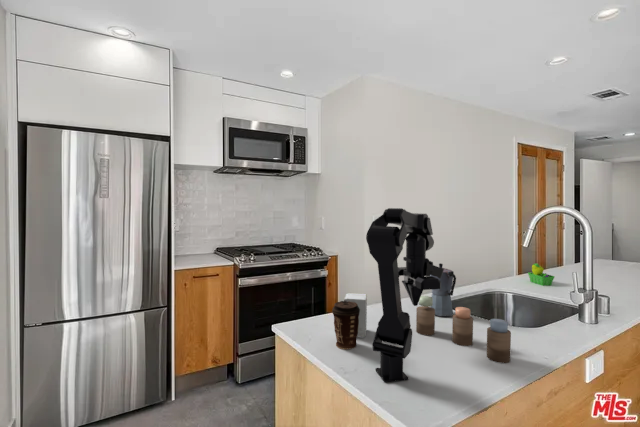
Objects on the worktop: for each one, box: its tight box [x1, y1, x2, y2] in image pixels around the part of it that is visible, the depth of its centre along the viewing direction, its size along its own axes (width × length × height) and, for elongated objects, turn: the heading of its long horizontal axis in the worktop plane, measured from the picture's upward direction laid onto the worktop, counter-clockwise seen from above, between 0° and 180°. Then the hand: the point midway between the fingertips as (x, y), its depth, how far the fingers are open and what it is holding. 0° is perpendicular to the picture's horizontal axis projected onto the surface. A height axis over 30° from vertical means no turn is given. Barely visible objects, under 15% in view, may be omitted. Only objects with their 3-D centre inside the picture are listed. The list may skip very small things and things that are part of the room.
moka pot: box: [430, 263, 457, 317], centre depth 135 cm, size 10×15×20 cm, turn 21°
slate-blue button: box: [489, 318, 509, 333], centre depth 97 cm, size 4×4×2 cm
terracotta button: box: [454, 306, 471, 319], centre depth 108 cm, size 4×4×2 cm
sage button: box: [418, 295, 433, 307], centre depth 116 cm, size 4×4×2 cm
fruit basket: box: [527, 262, 555, 286], centre depth 186 cm, size 11×9×11 cm
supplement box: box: [343, 292, 368, 338], centre depth 115 cm, size 7×7×13 cm
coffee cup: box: [331, 300, 360, 351], centre depth 105 cm, size 9×8×13 cm
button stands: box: [415, 305, 512, 364], centre depth 107 cm, size 30×8×8 cm, turn 38°
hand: (415, 305), depth 104 cm, fingers closed
